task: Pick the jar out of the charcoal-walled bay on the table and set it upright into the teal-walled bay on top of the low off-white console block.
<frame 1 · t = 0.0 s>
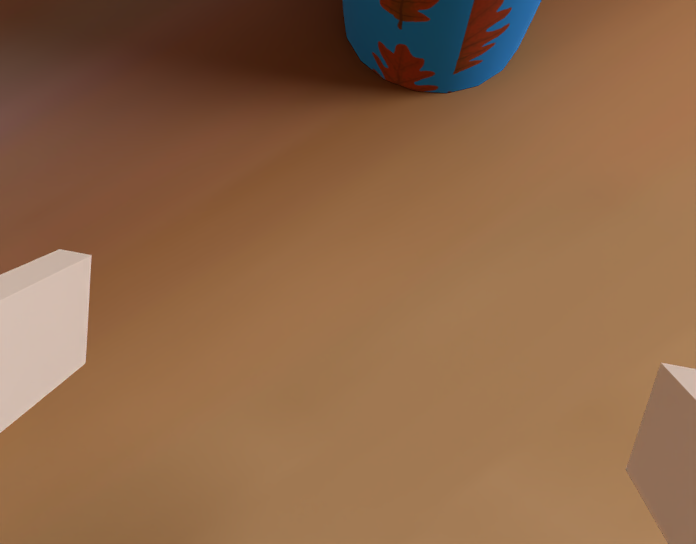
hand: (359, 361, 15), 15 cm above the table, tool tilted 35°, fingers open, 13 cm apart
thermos: (432, 20, 37), on the table
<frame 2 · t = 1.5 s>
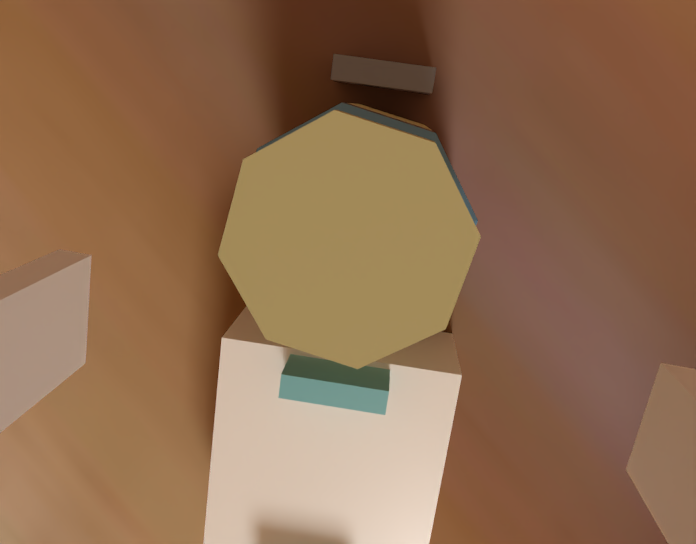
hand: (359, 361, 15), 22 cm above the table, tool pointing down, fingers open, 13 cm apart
console: (350, 317, 37), on the table
jar: (368, 188, 36), on the table
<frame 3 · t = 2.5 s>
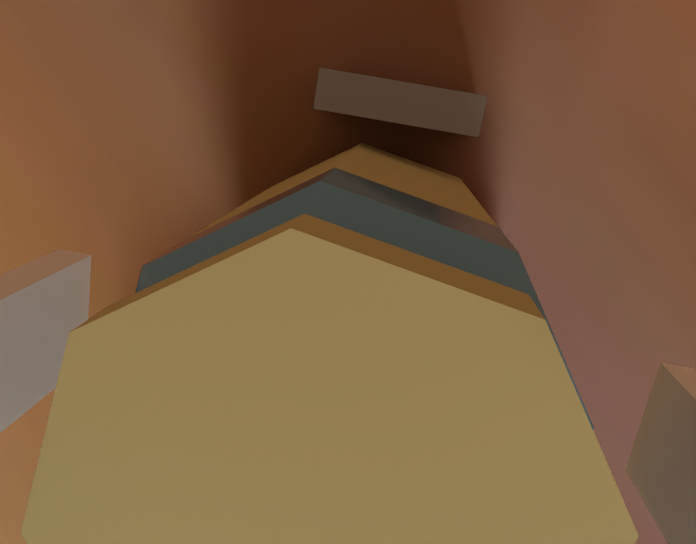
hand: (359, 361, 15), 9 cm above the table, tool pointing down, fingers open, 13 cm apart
console: (336, 452, 25), on the table
jar: (369, 267, 24), on the table
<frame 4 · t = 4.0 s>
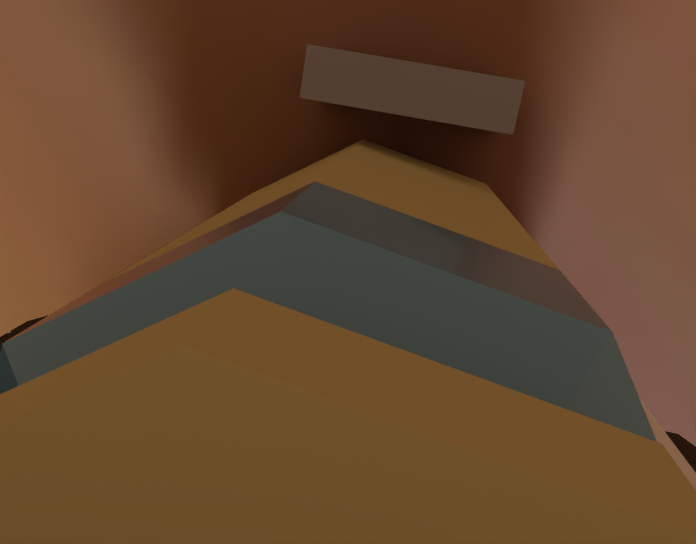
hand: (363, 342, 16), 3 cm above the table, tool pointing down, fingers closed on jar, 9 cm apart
console: (332, 510, 21), on the table
jar: (373, 291, 19), on the table, touching gripper
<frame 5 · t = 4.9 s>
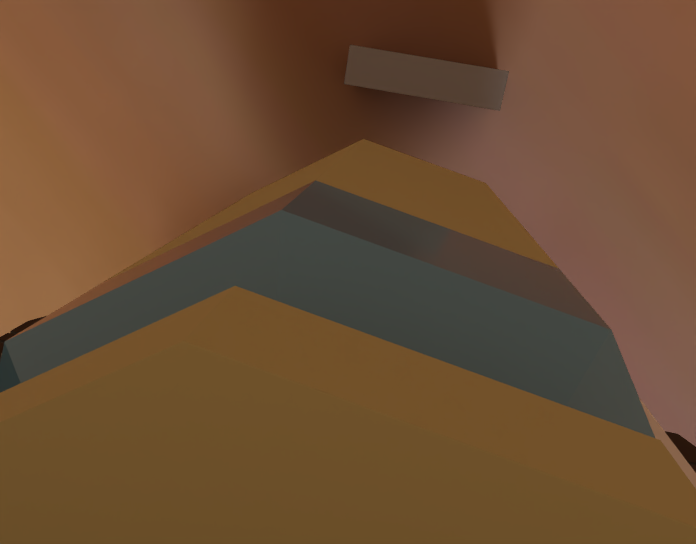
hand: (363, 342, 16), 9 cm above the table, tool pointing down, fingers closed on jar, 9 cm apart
console: (361, 412, 27), on the table
jar: (373, 291, 19), point 6 cm above the table, touching gripper
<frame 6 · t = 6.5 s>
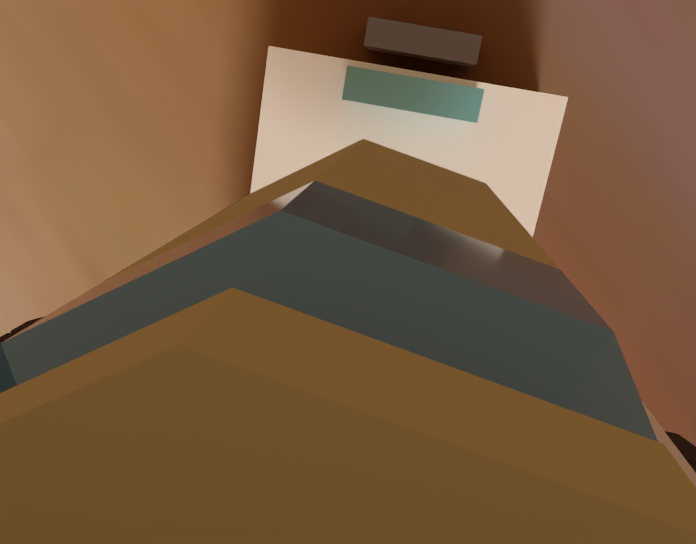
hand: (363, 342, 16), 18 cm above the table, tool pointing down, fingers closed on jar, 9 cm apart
console: (415, 75, 31), on the table
jar: (373, 291, 19), point 14 cm above the table, touching gripper
when the fingers open (11 cm above the table, at t = 8.3 s): jar drops 1 cm, resting on console.
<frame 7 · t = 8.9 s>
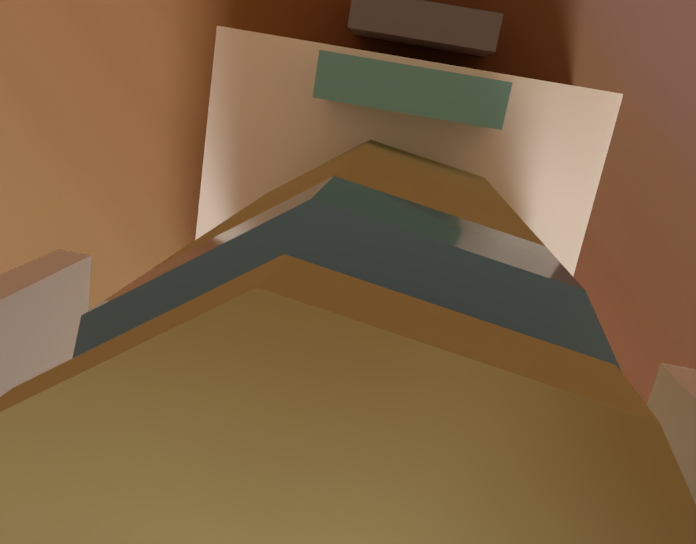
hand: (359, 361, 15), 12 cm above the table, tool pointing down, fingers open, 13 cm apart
console: (415, 68, 24), on the table
jar: (382, 281, 21), point 6 cm above the table, touching console
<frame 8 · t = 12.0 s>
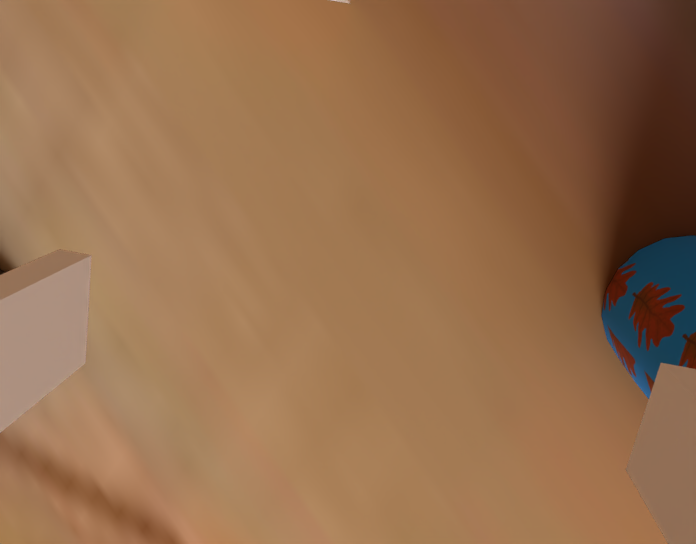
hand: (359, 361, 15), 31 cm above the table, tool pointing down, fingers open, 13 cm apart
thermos: (678, 307, 45), on the table
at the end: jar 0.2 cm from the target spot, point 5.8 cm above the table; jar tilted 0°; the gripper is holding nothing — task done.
